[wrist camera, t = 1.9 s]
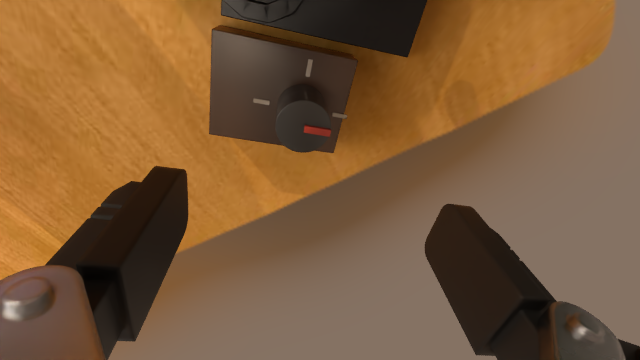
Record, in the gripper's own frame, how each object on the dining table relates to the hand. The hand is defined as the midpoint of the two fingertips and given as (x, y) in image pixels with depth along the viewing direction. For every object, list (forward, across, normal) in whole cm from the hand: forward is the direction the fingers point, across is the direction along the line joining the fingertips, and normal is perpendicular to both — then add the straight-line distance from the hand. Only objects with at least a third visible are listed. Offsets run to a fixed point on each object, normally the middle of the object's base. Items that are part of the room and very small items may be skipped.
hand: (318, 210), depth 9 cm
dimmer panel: (+22, +2, +2) cm, 22 cm away
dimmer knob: (+19, 0, +3) cm, 19 cm away
